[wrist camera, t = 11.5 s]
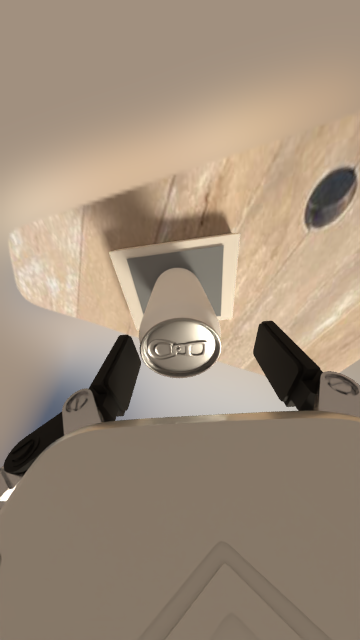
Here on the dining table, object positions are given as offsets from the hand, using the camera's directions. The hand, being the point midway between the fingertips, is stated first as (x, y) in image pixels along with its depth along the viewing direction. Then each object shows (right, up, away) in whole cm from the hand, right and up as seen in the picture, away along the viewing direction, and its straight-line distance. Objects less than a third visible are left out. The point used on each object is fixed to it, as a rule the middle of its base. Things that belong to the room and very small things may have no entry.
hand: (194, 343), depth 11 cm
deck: (-1, +8, +12) cm, 14 cm away
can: (-1, +6, +9) cm, 11 cm away
